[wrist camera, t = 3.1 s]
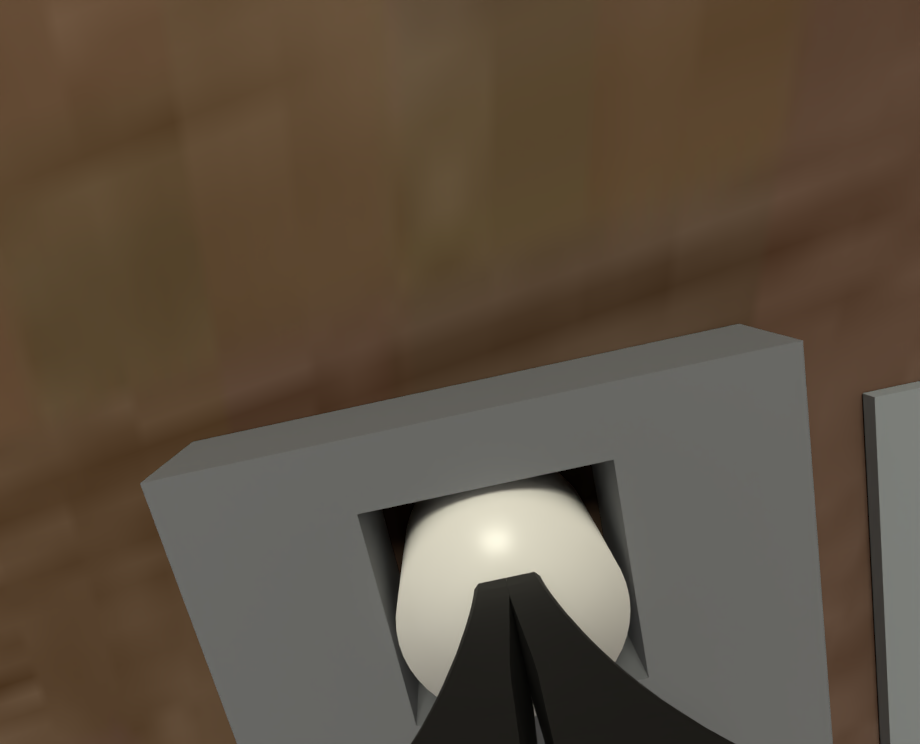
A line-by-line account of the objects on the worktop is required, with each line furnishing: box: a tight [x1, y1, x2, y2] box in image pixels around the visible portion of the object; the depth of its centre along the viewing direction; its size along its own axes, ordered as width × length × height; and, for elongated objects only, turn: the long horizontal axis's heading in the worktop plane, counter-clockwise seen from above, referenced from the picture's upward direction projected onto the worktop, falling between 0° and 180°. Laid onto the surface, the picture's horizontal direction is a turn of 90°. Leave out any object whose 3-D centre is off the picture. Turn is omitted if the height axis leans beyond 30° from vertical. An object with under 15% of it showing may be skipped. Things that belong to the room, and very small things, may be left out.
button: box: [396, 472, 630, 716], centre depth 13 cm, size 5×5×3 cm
